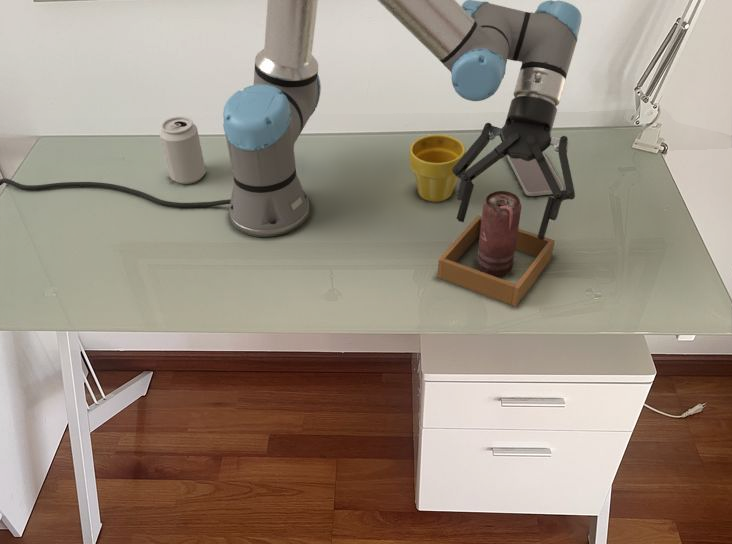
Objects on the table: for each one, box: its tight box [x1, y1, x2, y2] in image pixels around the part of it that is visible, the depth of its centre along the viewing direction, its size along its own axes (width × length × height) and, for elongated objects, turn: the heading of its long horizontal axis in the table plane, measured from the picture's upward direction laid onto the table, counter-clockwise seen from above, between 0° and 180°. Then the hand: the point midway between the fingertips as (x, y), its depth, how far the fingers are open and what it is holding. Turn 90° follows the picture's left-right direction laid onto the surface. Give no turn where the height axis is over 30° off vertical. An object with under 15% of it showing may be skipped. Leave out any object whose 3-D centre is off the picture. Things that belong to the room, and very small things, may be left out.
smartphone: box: [506, 151, 564, 197], centre depth 150 cm, size 7×1×15 cm
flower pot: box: [409, 133, 466, 203], centre depth 145 cm, size 10×10×10 cm
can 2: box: [476, 190, 522, 278], centre depth 126 cm, size 6×6×14 cm
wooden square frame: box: [437, 215, 556, 308], centre depth 130 cm, size 15×15×4 cm
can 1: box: [159, 116, 207, 185], centre depth 153 cm, size 8×8×12 cm
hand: (499, 229), depth 125 cm, fingers open, 13 cm apart
